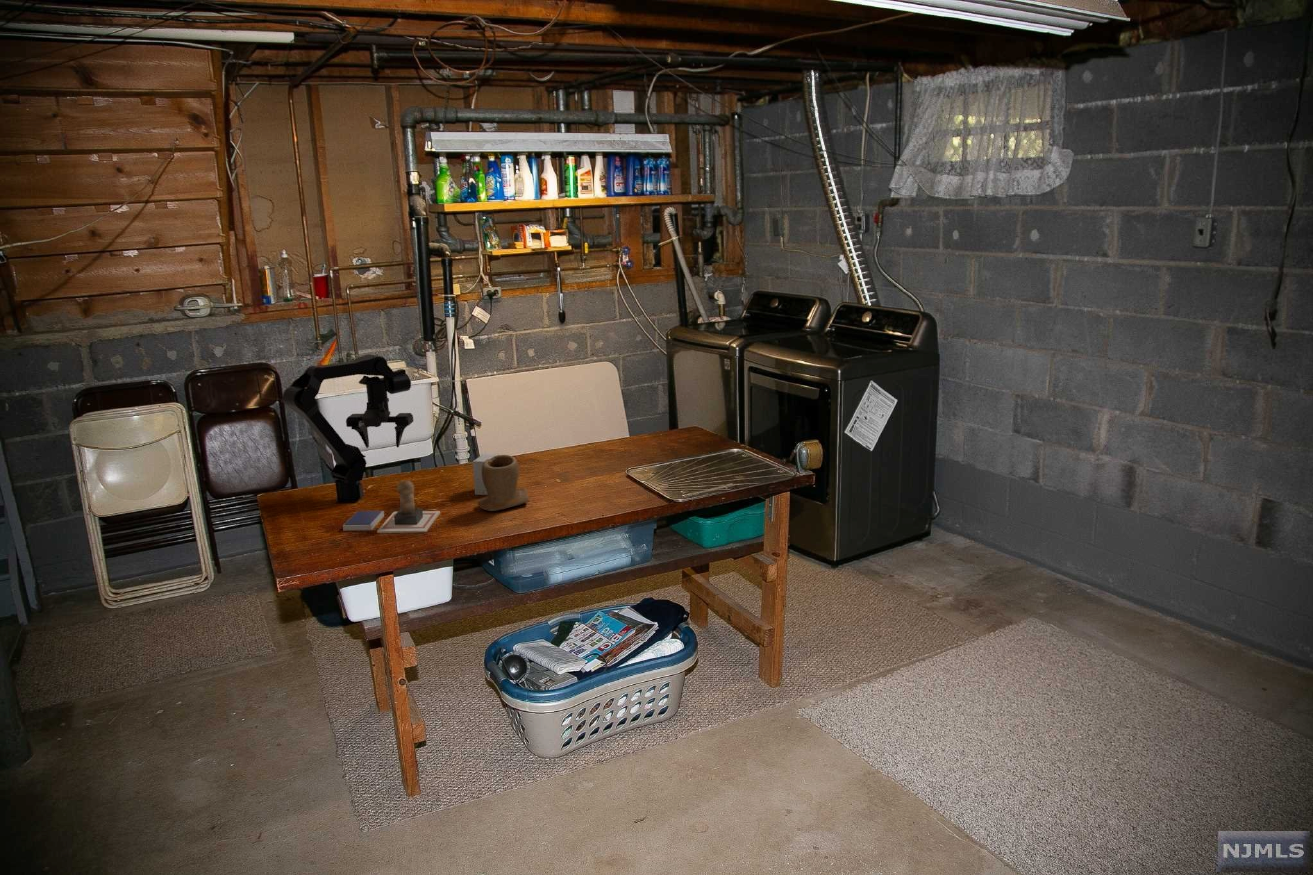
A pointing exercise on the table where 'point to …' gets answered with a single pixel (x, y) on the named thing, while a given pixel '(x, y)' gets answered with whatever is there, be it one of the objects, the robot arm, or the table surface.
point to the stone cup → (501, 484)
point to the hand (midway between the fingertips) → (382, 447)
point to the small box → (480, 474)
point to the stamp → (407, 506)
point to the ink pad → (363, 520)
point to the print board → (420, 527)
